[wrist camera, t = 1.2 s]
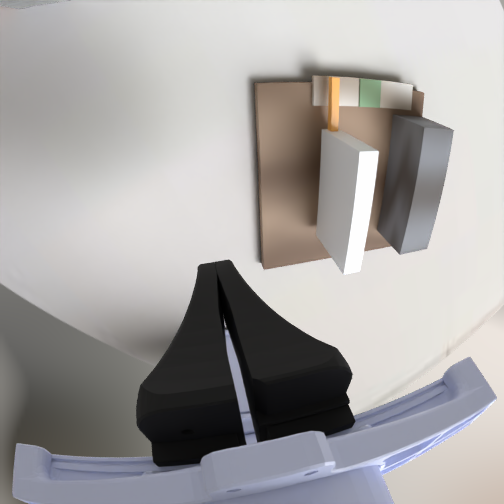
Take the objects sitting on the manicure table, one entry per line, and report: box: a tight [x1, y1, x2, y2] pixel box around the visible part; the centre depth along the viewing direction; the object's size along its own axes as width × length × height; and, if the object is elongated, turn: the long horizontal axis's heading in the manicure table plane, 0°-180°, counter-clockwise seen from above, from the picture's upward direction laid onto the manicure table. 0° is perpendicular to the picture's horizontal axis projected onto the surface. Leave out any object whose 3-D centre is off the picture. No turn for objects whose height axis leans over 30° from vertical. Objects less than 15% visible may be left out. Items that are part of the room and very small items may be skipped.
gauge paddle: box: [316, 77, 379, 275], centre depth 18 cm, size 12×1×5 cm, turn 3°
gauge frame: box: [254, 75, 454, 270], centre depth 20 cm, size 14×13×4 cm
